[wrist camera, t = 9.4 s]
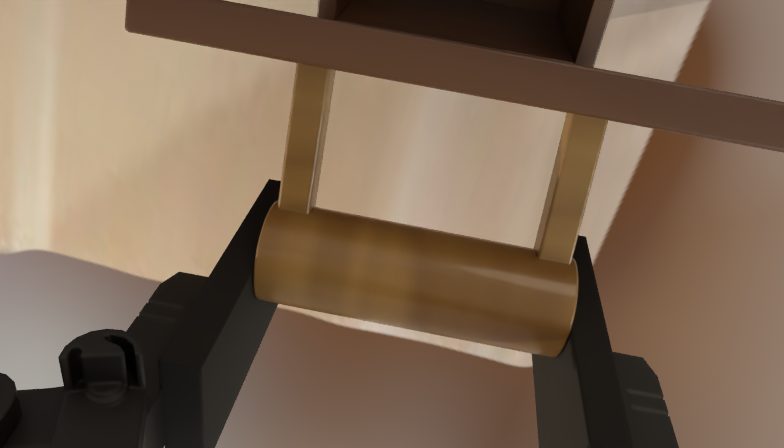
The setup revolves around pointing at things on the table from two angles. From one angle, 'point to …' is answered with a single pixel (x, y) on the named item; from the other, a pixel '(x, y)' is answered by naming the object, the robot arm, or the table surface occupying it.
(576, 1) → the box
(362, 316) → the box lid
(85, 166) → the table surface
